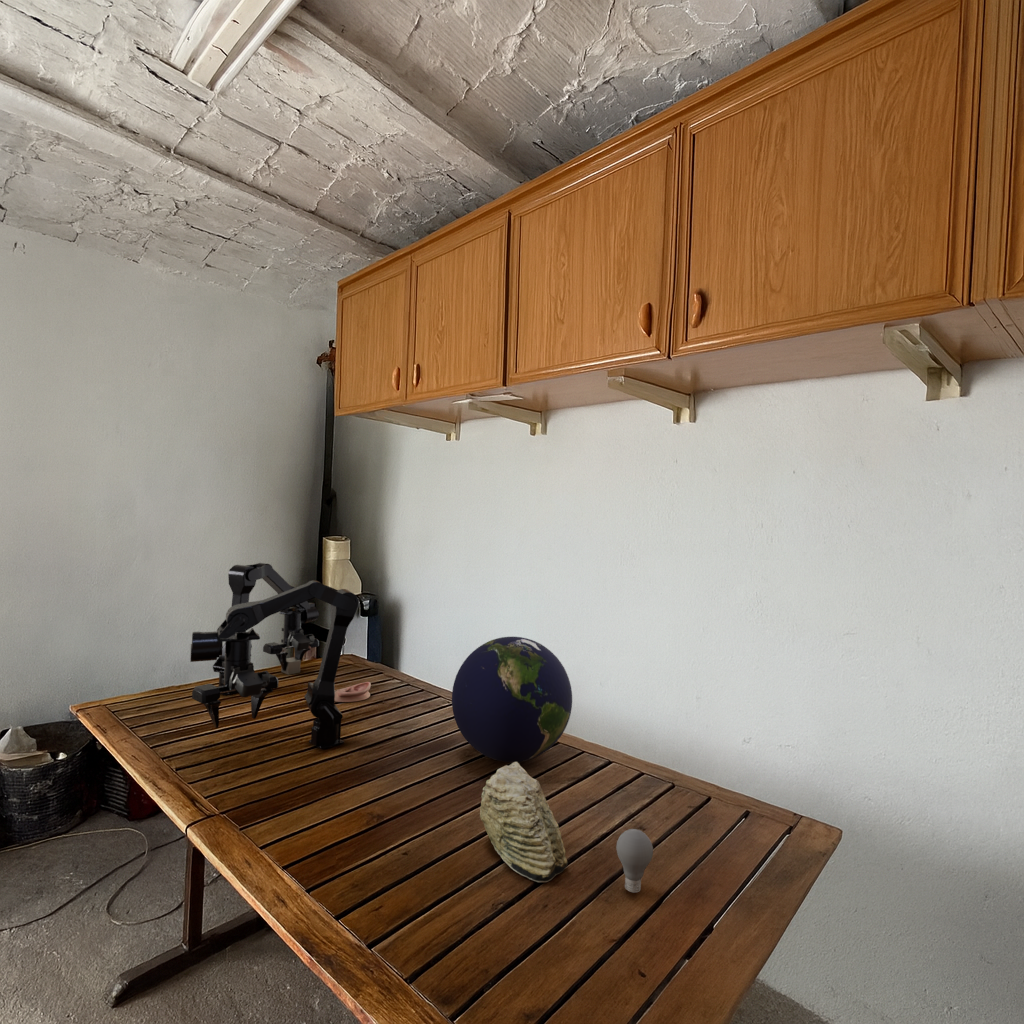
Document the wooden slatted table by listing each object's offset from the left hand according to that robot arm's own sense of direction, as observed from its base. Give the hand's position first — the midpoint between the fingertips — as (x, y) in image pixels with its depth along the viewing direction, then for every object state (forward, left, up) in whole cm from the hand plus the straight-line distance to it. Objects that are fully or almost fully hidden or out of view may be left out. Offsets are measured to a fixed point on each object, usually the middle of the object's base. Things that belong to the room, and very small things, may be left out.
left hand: (290, 669), depth 224 cm
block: (0, 0, -1) cm, 1 cm away
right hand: (+51, -52, +7) cm, 73 cm away
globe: (+102, -9, -1) cm, 103 cm away
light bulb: (+149, -40, -1) cm, 155 cm away
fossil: (+129, -44, -1) cm, 136 cm away
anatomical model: (+36, -5, -1) cm, 36 cm away
